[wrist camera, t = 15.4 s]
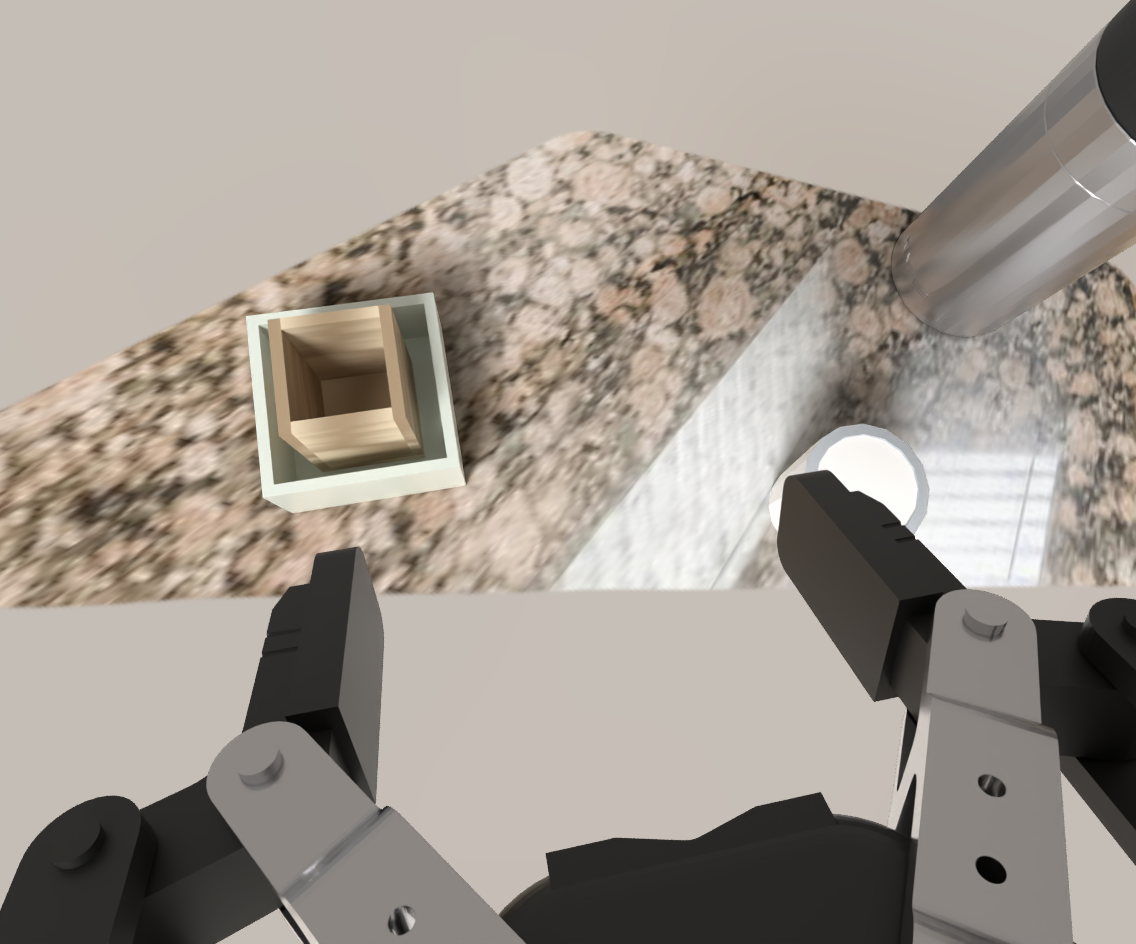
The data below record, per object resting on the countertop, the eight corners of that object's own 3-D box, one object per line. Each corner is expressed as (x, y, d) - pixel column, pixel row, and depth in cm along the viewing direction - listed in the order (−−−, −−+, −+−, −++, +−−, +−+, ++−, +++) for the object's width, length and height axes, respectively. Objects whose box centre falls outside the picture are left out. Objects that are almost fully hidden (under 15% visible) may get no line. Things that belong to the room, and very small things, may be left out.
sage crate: (441, 329, 44) (433, 292, 39) (465, 485, 42) (459, 466, 37) (275, 351, 43) (245, 316, 38) (292, 513, 41) (262, 497, 36)
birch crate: (412, 362, 43) (390, 304, 35) (425, 456, 42) (405, 417, 34) (312, 376, 42) (267, 319, 35) (322, 472, 41) (278, 435, 33)
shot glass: (780, 437, 45) (829, 402, 38) (880, 482, 44) (947, 455, 38) (742, 534, 43) (786, 516, 36) (845, 581, 43) (908, 572, 36)
